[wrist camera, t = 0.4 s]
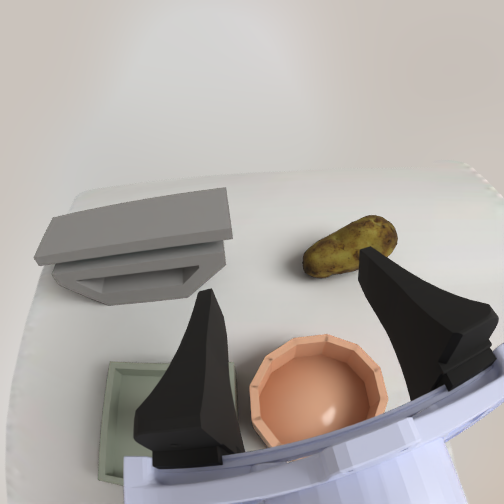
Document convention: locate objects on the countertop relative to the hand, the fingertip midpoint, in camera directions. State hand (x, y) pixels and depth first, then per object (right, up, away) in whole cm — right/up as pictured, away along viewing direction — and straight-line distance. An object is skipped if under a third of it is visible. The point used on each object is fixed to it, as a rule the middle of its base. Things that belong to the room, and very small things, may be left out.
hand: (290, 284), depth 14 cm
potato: (+11, -1, +27) cm, 29 cm away
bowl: (+5, -15, +14) cm, 20 cm away
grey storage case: (-16, -3, +27) cm, 31 cm away
